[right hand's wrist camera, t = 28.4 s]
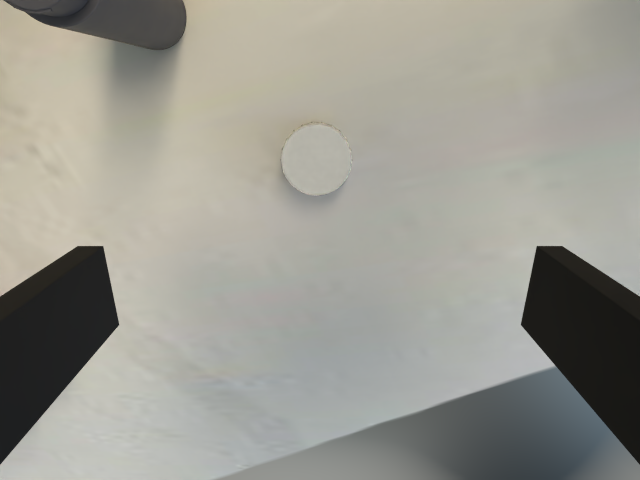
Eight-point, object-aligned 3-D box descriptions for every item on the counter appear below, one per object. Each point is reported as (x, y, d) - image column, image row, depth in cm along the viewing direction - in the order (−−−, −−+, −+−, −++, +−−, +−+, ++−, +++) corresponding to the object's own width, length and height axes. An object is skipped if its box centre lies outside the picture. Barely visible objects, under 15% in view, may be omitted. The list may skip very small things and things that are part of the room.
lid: (358, 179, 37) (360, 185, 35) (294, 197, 38) (292, 204, 36) (341, 113, 35) (342, 114, 33) (273, 133, 36) (270, 135, 34)
